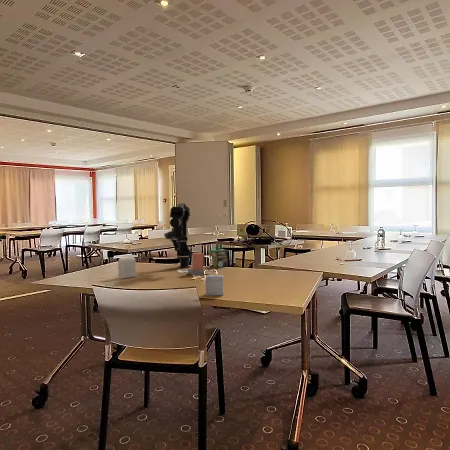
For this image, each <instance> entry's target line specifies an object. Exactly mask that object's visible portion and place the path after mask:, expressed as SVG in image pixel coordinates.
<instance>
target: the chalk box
mask: <svg viewBox="0 0 450 450" xmlns="http://www.w3.org/2000/svg"><path fill="white" fill-rule="evenodd" d="M218 247H219V248H218ZM208 252H209V254H208V256H209V255H210V256H212V258H213V265H214V266H215V267H217V268H216V269H218V268H219V269H220V268H228V263H229V262H228V249H224V248H222V244H216V246H215V249H210V250H208ZM215 267H214V268H215Z"/></svg>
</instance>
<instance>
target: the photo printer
mask: <svg viewBox="0 0 450 450" xmlns="http://www.w3.org/2000/svg"><path fill="white" fill-rule="evenodd" d="M136 261H137V260H136V258H135V257H134V256H124V257H120V258H118V267H117V268H118V269H117V270H118V279H120V280H121V279H129V278H135V277H137V274H136V273H137V269H136V267H137V265H136Z"/></svg>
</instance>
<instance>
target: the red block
mask: <svg viewBox="0 0 450 450" xmlns="http://www.w3.org/2000/svg"><path fill="white" fill-rule="evenodd" d="M191 260H192V261H191V262H192V269H193V270H195V271H196V270H204V268H205V267H204V253H203V252H191Z"/></svg>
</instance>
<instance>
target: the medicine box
mask: <svg viewBox="0 0 450 450" xmlns="http://www.w3.org/2000/svg"><path fill="white" fill-rule="evenodd" d="M224 287H225V286H224V275H222V274H221V275H220V274H213V275H212V274H211V275H209V274H206V276H205V296H206V297H207V296H223V295H224V294H225V293H224V292H225V290H224V289H225V288H224Z"/></svg>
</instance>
